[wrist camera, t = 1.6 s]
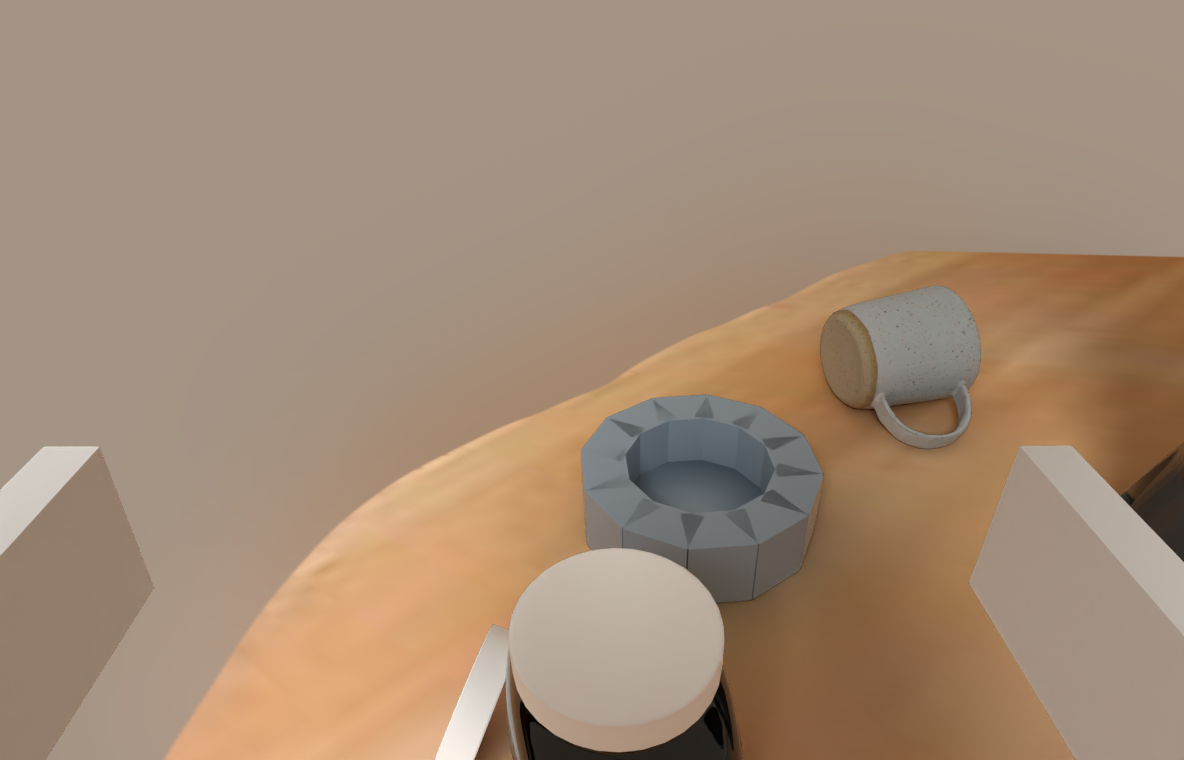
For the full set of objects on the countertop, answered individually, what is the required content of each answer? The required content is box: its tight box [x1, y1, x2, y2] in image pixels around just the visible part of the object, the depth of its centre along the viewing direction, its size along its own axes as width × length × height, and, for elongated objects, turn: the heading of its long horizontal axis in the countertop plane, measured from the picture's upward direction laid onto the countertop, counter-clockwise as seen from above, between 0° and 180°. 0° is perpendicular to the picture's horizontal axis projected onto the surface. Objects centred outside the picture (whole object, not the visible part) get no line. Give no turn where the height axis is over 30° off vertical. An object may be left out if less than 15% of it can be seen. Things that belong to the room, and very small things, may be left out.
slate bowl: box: [581, 394, 824, 603], centre depth 43 cm, size 13×13×4 cm
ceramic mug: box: [820, 286, 981, 449], centre depth 51 cm, size 11×8×8 cm
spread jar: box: [435, 548, 743, 760], centre depth 28 cm, size 12×11×12 cm
